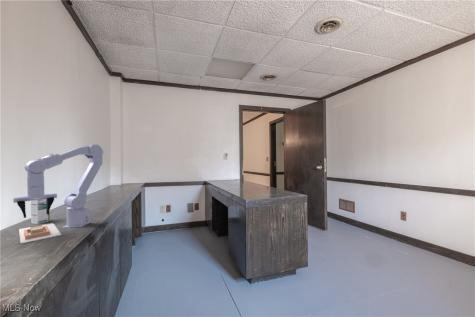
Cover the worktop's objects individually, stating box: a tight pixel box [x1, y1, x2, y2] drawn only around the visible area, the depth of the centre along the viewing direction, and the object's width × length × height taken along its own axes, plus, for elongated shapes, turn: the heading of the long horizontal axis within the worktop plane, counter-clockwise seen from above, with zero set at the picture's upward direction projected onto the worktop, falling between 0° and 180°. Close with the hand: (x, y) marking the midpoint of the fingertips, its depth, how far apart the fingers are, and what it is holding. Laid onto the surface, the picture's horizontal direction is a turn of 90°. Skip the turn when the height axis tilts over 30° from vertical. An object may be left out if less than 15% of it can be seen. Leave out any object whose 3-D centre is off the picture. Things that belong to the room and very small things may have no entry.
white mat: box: [18, 222, 62, 245], centre depth 101 cm, size 13×26×1 cm, turn 47°
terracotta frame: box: [24, 226, 50, 240], centre depth 98 cm, size 12×8×2 cm, turn 47°
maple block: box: [29, 223, 43, 234], centre depth 98 cm, size 8×4×3 cm, turn 47°
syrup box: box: [30, 198, 51, 225], centre depth 117 cm, size 6×6×14 cm
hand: (36, 215), depth 98 cm, fingers open, 7 cm apart
